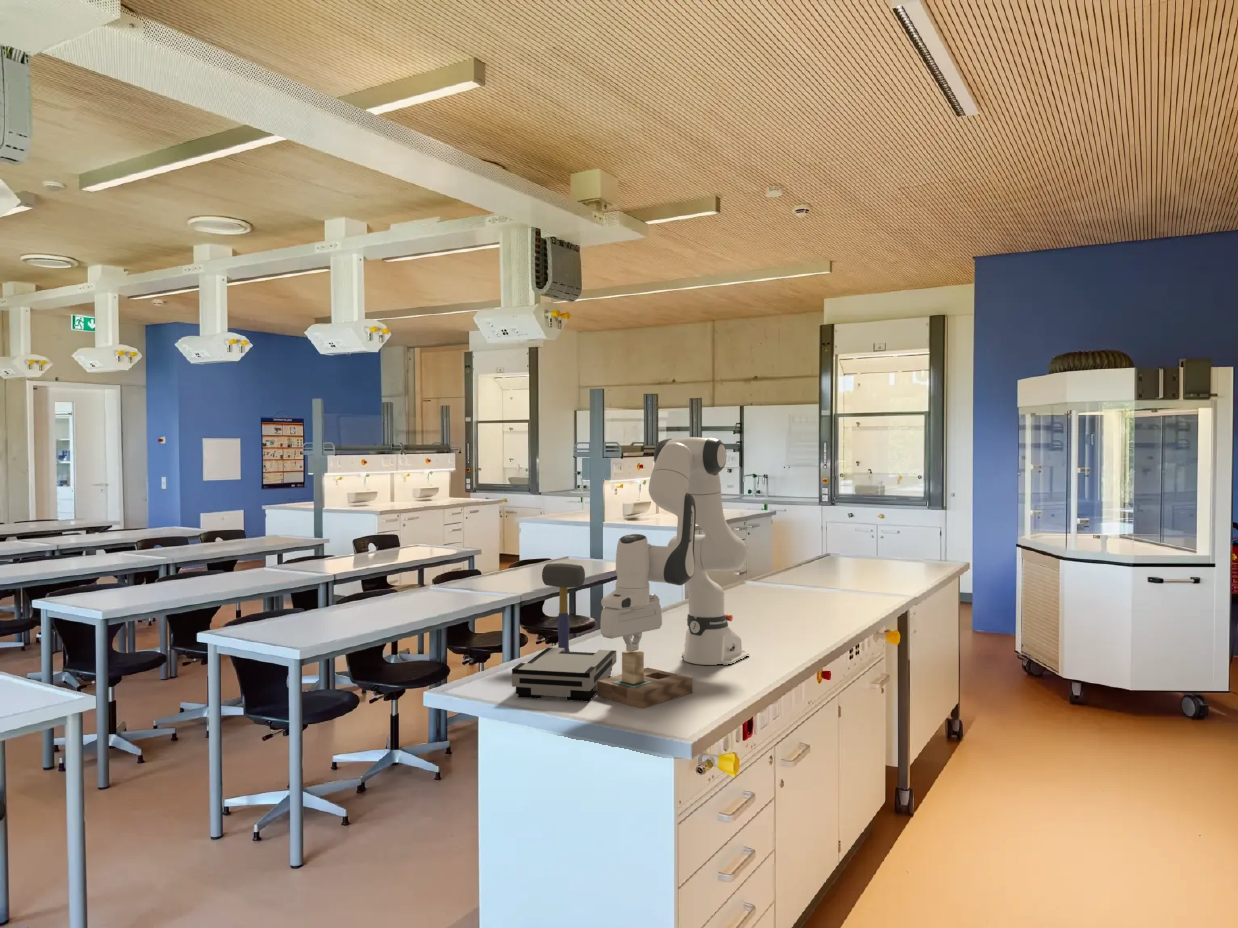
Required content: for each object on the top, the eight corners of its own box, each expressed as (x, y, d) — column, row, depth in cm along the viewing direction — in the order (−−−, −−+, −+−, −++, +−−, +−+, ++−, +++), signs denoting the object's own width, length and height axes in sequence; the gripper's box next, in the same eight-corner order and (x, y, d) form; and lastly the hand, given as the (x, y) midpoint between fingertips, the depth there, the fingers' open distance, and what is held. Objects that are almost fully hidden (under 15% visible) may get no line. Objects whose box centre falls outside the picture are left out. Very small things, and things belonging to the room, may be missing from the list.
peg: (632, 694, 220) (632, 649, 220) (644, 697, 217) (643, 651, 217) (621, 698, 217) (621, 652, 217) (633, 701, 214) (633, 654, 214)
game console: (616, 674, 243) (616, 646, 243) (589, 705, 211) (589, 673, 211) (547, 670, 247) (547, 643, 247) (511, 700, 216) (512, 668, 216)
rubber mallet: (540, 660, 259) (540, 563, 259) (551, 655, 266) (551, 561, 266) (576, 663, 254) (576, 565, 254) (586, 658, 261) (586, 562, 261)
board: (647, 681, 233) (647, 666, 233) (692, 692, 222) (692, 676, 222) (597, 696, 219) (597, 680, 219) (642, 708, 208) (642, 691, 208)
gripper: (649, 591, 227) (649, 642, 227) (596, 600, 212) (596, 654, 212) (667, 594, 222) (667, 646, 222) (614, 603, 207) (614, 658, 207)
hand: (632, 650), depth 217 cm, fingers closed
